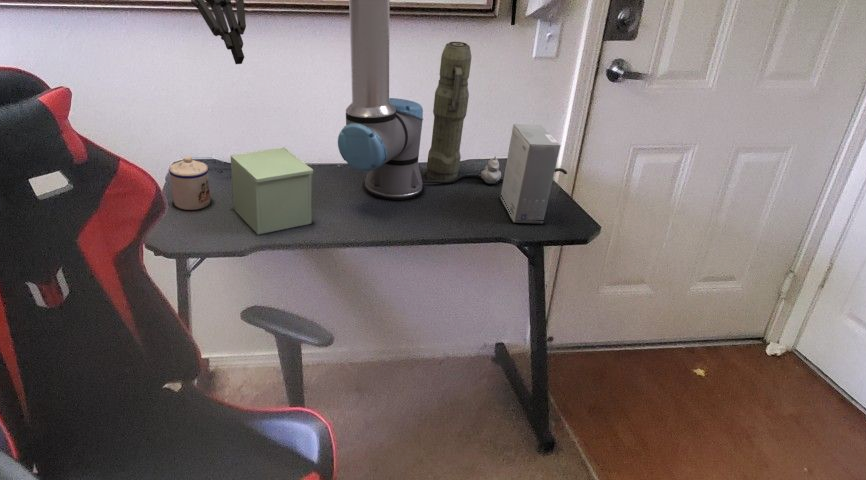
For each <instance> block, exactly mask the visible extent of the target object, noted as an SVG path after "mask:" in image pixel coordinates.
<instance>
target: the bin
mask: <svg viewBox="0 0 866 480" xmlns="http://www.w3.org/2000/svg"><path fill="white" fill-rule="evenodd" d="M230 169H231V186H232V200H233V201H232V202H233V210H234V211H235V212H236V213H237V215H239V217H241V218H242V220H243V221H244V222H245V223H246V224H247V225H248V226H249V227H250V228H251V230H253V231H254V232H255V233H256V234H257V235H263V234H267V233H272V232H277V231H283V230H286V229H291V228H292V229H293V228H297V227H301V226H307V225H310V224H312V185H313V183H312V182H313V181H312V176H313V173H311V174H305V175H299V176H293V177H287V178H281V179H275V180H269V181H264V182H258V183H257V182H256V181H255V180H253V179H252V178H251V177H250V176H249V175H248V174H247V173H246V172H245V171H244V170H243V169H242V168H240V167H239V166H238V165H237V164H236V163H235V162H234V161H233V160H232V159H231V158H230Z"/></svg>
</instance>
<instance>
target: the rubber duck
mask: <svg viewBox="0 0 866 480" xmlns="http://www.w3.org/2000/svg"><path fill="white" fill-rule="evenodd" d="M480 175H481V177H482V178H483V179H485V180H489V181H498V180H499V179H500V178H502V172H501V171H500V162H499V160H498V158H497V156H496V155H494V157H493V158H490V159H489V160H488V161H487V165H485V166H484V170H481V172H480ZM482 178H481V179H482ZM483 179H482V180H483ZM484 182H485V184H488V185H497V184H498V183H499V182H497V183H489V182H486V181H484Z"/></svg>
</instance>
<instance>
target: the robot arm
mask: <svg viewBox="0 0 866 480" xmlns="http://www.w3.org/2000/svg"><path fill="white" fill-rule="evenodd" d="M234 2H235V3H236V4H235V5H236V14H235V12H234V8H233V6H232V0H190V3H191V4H192V5H193V6H194V7H195V8H196V9H197V10H198V11H199V14H200V15H201V17H202V19H203V20H204V22H205V23H206V26H207V27H208V28H209V30H210V31H211V33H212V35H213V36H215V37H219V36H220V39H221V41H223V42H224V45H225V49H227V50H228V51H229V50H230V52H231V55H232V58H233V61H234V63H235V65H243V62H244V60H245V54H244V52H243V48H244V47H243V46H244V41H243V38H242V35H244V34H245V31H246V29H247V23H246V12H245V11H246V10H245V0H234ZM390 2H391V1H390V0H348V6H349V8H348V9H349V40H350V41H349V42H350V76H351V77H350V79H351V103H350V104H349V105H348V106H347V107H346V109H345V125H343V127H342V129H341V131H340V132H339V134H338V137H337V148H338V151H339V154H340V156H341V158H342V160H344V161H345V162H346V163H347V165H348V166H350V167H351V168H352V169H354V170H356V171H359V172H367V174H366V176H365V181H364V189H365V191H366V192H367V193H368V194H370V195H372V196H374V197H377V198H380V199H384V200H390V201H391V200H392V201H404V200H405V201H406V200H410V199H414V198H417V197H418V196H420V195H421V194H422V192H423V187H424V186H423V185H424V184H443V185H445V184H446V185H447V184H452V183H455V182H457V181H459V180H460V179H463V178H476V179H482V178H481V176H479V175H480V174H477V175H463V174H458V176H459V177H458V176H457V178H454V179H451V180H430V179H423V178H422V173H421V169H420V165H419V156H420V149H421V148H420V147H421V139H422V137H421V136H422V128H423V122H424V118H423V117H424V116H423V115H424V108H423V106H422V104H420V103H418V102H416V101H413V100H408V99H404V98H396V97H390V15H391V14H390V12H391V11H390V5H391V3H390ZM208 5H209V6H210V8H209V6H208ZM235 15H236V16H235ZM556 172H561V173H562V174H564V175H568V172H567V171H566V170H565V169H564V168H561V167H558V168H556V167H555V172H554V173H556ZM460 175H462V176H460ZM503 179H504V178H503ZM503 179H500V180H499V182H501V183H503ZM545 285H546V288H547V287H548V284H545Z"/></svg>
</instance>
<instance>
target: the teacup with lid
mask: <svg viewBox="0 0 866 480" xmlns="http://www.w3.org/2000/svg"><path fill="white" fill-rule="evenodd" d="M209 170H210V169H209V167H208V165H207V164H206V163H205V162H201V161H198V160H195V159H193V157H192V156H191V155H190V156H189V155H186V156H184V157H183V159H182V160H180V161H178V162H174V163H173V164H171V165H170V166H169V169H168V172H169V174H170V181H171V191H172V198H173V204H174V206H175V207H176V208H178V209H180V210H186V211H197V210H201V209H205V208H207V207H208V206H209V205H210V203H211V194H210V182H209Z"/></svg>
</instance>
